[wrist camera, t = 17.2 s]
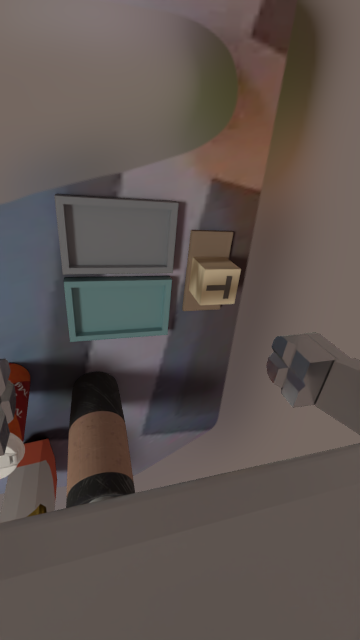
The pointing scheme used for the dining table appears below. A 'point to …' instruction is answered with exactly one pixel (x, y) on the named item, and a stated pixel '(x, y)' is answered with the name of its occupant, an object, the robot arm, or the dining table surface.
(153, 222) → the gray bin
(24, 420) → the paper cup
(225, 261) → the letter cube
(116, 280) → the teal bin
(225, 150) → the dining table surface
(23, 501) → the french fries container
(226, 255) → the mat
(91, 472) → the travel mug
